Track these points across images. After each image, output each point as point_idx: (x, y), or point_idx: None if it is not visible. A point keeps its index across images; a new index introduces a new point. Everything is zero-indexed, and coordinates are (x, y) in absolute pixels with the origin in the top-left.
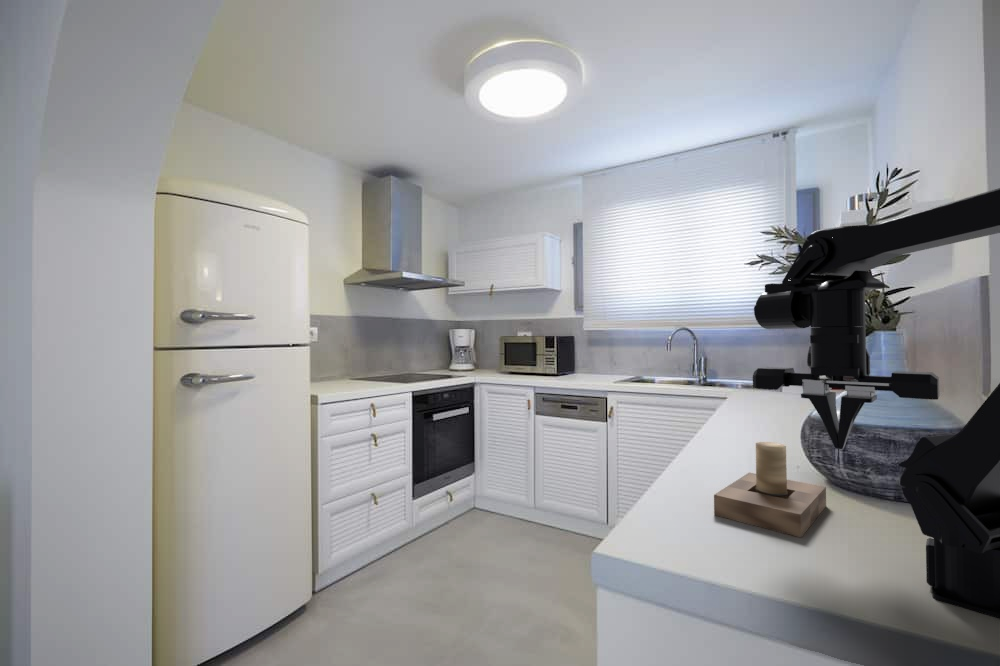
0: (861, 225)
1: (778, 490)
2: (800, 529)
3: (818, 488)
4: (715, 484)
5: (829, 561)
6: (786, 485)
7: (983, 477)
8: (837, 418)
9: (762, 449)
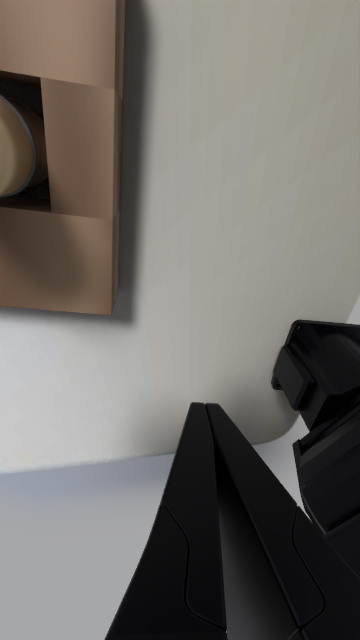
0: None
1: (15, 187)
2: (115, 300)
3: None
4: None
5: (167, 351)
6: (21, 149)
7: None
8: (218, 533)
9: None
